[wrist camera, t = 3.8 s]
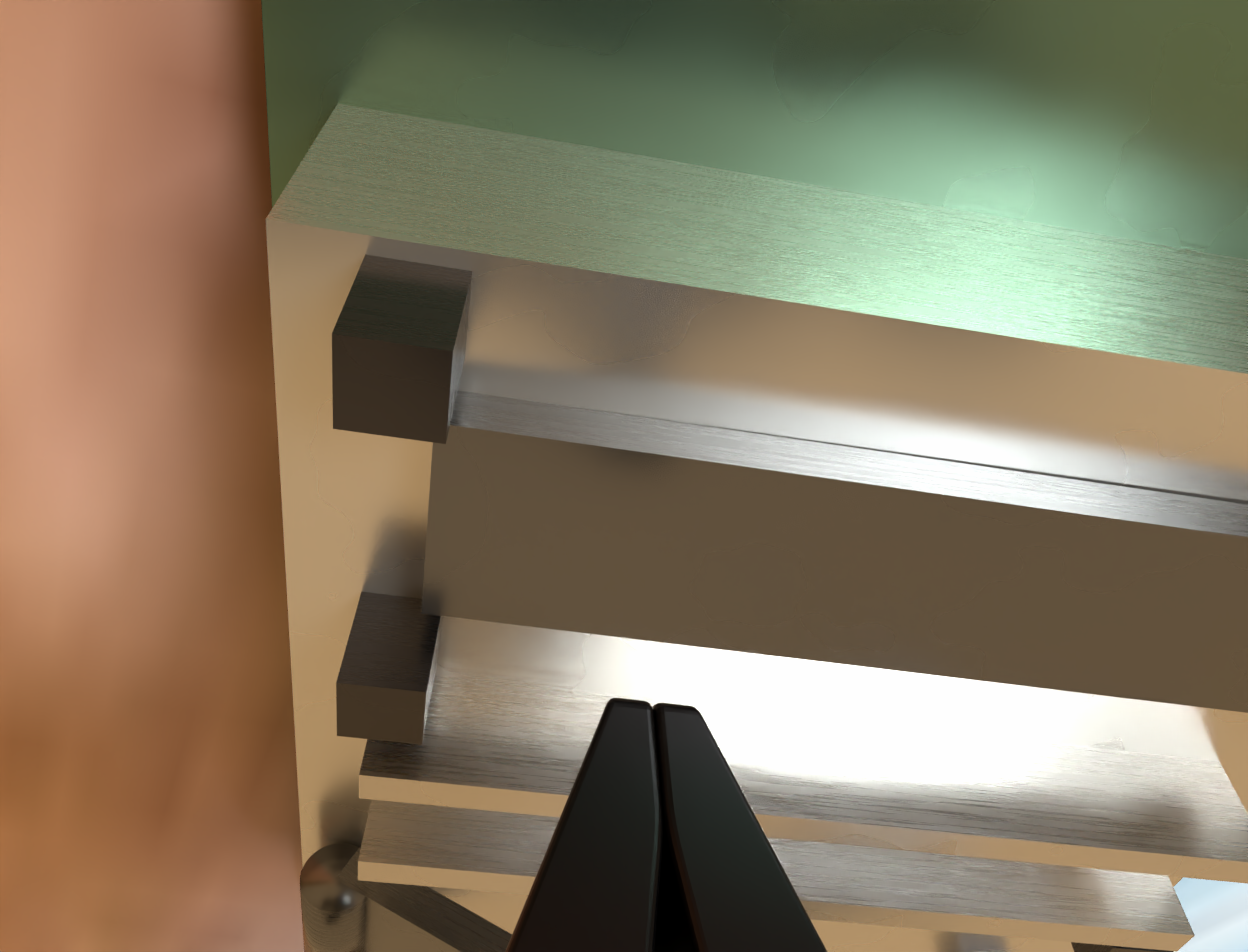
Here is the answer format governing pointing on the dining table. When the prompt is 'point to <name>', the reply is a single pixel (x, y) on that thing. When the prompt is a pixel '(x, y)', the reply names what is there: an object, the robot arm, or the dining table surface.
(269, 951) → the dining table surface
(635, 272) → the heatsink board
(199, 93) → the dining table surface
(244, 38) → the dining table surface
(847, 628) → the strap
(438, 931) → the strap
